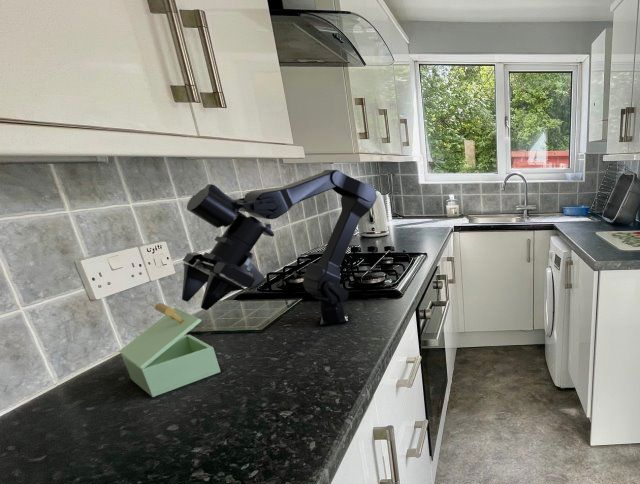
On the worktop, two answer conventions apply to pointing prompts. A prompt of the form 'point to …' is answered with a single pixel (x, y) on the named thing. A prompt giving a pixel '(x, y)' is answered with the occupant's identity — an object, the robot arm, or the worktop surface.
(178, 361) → the bin
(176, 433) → the worktop surface
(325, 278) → the robot arm
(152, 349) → the bin lid
